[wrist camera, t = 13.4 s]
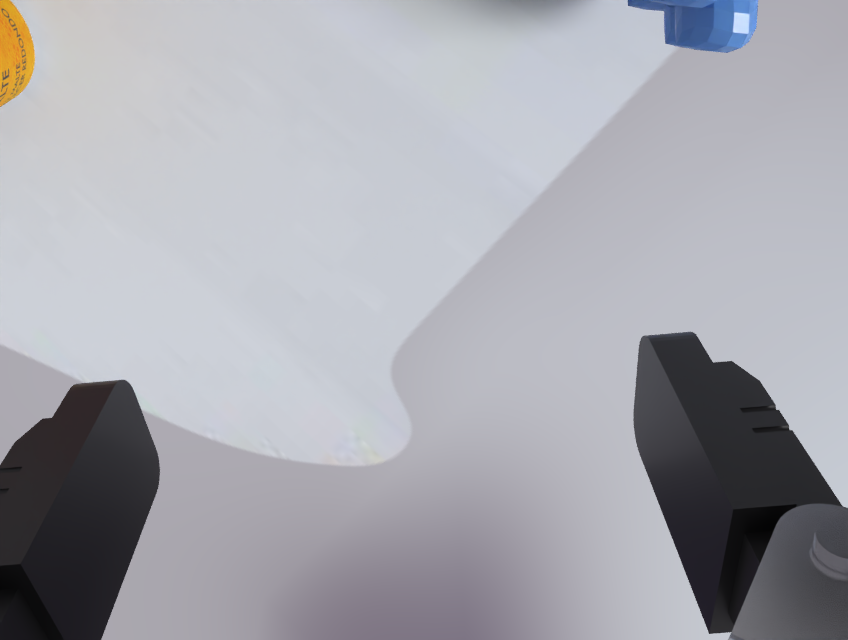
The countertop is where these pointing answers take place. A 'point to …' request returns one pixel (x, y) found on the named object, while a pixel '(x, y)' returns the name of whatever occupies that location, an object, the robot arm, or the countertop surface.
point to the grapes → (705, 22)
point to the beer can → (14, 52)
